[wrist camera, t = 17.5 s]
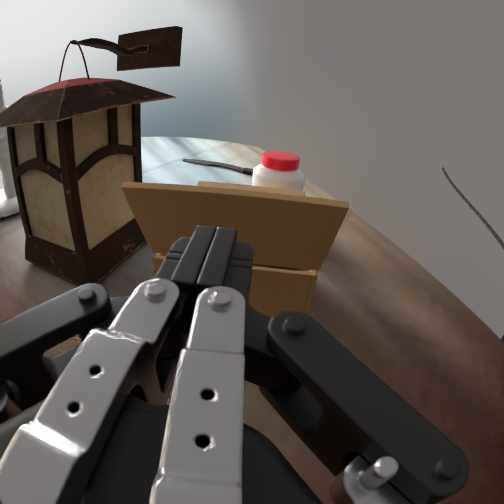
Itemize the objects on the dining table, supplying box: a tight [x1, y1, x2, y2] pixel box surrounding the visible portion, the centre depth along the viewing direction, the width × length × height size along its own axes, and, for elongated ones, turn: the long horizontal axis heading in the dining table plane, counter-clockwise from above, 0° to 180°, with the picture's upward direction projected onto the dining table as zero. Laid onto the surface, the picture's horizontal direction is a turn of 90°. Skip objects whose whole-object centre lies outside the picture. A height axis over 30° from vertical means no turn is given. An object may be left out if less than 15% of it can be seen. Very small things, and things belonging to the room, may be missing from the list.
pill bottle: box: [252, 151, 305, 191], centre depth 46 cm, size 8×8×11 cm
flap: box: [121, 182, 349, 271], centre depth 18 cm, size 7×12×1 cm
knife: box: [183, 159, 253, 175], centre depth 72 cm, size 28×1×5 cm
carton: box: [154, 181, 317, 347], centre depth 30 cm, size 15×12×10 cm
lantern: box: [0, 26, 183, 285], centre depth 34 cm, size 18×26×30 cm
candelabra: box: [0, 80, 20, 218], centre depth 44 cm, size 34×35×27 cm
